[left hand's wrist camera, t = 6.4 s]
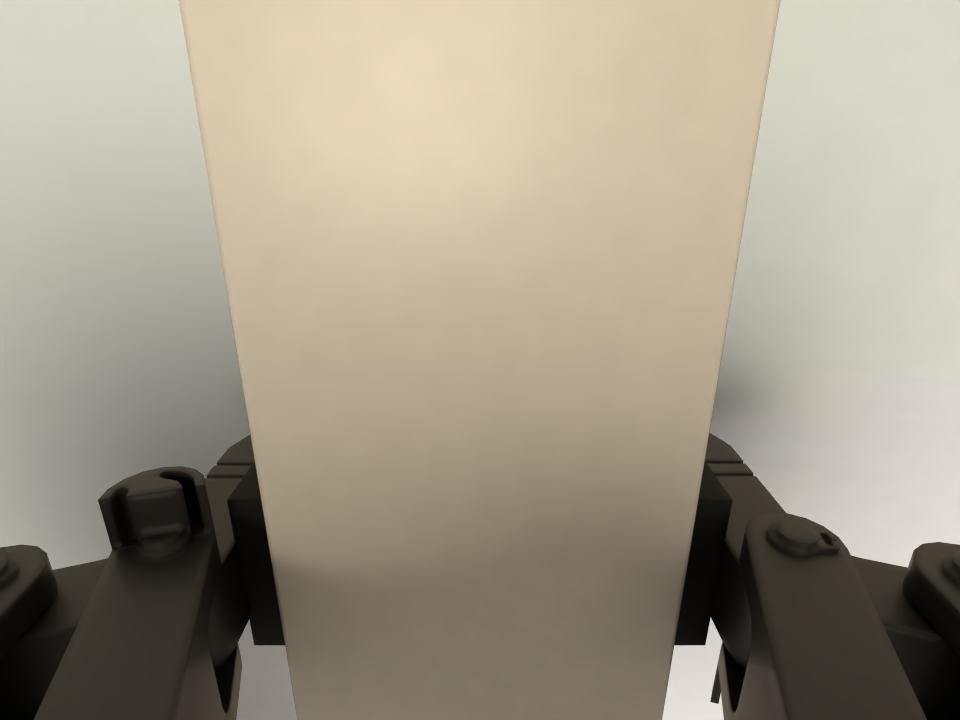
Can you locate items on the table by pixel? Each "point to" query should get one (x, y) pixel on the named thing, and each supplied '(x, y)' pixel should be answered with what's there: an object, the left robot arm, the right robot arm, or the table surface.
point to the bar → (479, 330)
